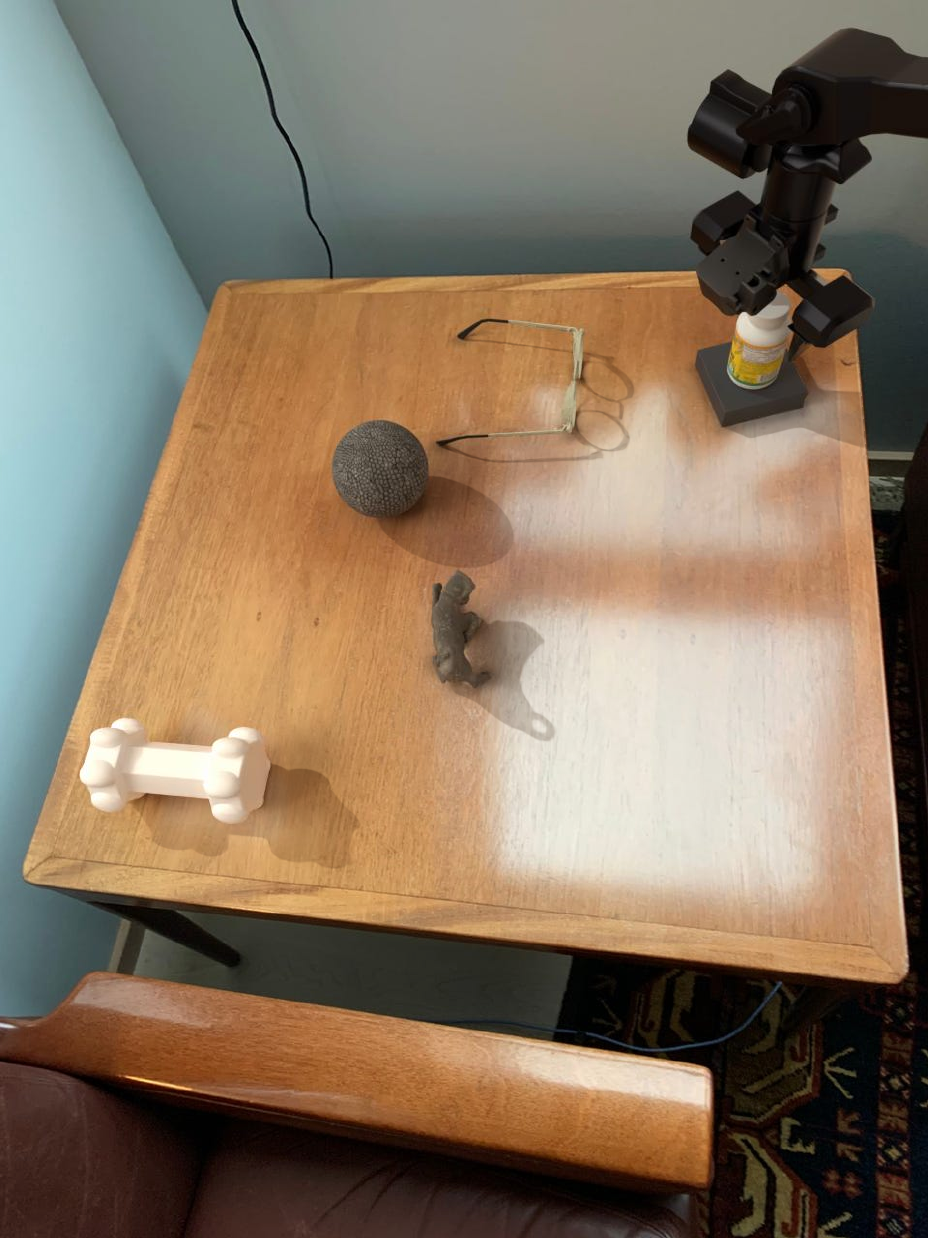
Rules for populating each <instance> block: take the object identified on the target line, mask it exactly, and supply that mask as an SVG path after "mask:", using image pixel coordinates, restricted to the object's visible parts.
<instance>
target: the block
mask: <svg viewBox="0 0 928 1238" xmlns="http://www.w3.org/2000/svg"><path fill="white" fill-rule="evenodd" d="M732 342H733V340H732V341H729V342H724V343H720V344H716V345H712V346H709V347H705V348H700V349H697V350H696V356H695V362H694V367H695V369H696V372H697V374H698V376H699V378H700V381H701V383H702V385H703V389H704V390H705V393H706V395H707V397H708V399H709V402H710V404H711V406H712V408H713V410H714V413H715V415H716V418H717V420H718V422H719V424H720V427H721V428H724V427H728V426H732V425H735V424H741V423H744V422H749V421H753V420H757V419H761V418H764V417H769V416H773V415H778V414H781V413H785V412H790V411H792V410H793V411H794V410H797V409H802V408H804V406H805V403H806V400H807V397H808V394H809V390H808V388H807V387H806V384H805V382H804V380H803V378H802V376H801V374H800V372H799V370H798V369H797V366H796V365H795V362H794V361H792V362H791V363H789V362H788V361H787V355H788V349H787V348H786V349H785V352H784V356H783V359H782V363H781V366H780V369H779V373H778V376H777V378H776V379H775V380H774V382H773V383H771V384H770V385H768V386H767V387H764V388H761V389H746V388H742V387H740V386H738V385H736V384H735V383H734V382H733V381H732V380H731V378H730V376H729V374H728V372H727V365H728V360H729V355H730V351H731V346H732Z"/></svg>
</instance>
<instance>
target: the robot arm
mask: <svg viewBox="0 0 928 1238" xmlns="http://www.w3.org/2000/svg"><path fill="white" fill-rule="evenodd" d="M873 135H874V136H875V135H893V136H894V135H895V136H902V137H909V138H910V137H911V138H916V139H924V140H928V56H920V55H916V54H913V53H909V52H906V51H905V50H904V48H902V47H901V46H900V45H899V44H898V43H897V42H896V41H895V40H894V39H893V38H892V37H889V36H886V35H882V34H878V33H875V32H871V31H867V30H863V29H860V28H856V27H846V28H840V29H839V30H836V31H835V32H833V33H831V34H830V35H829V36H827V37H826V38H825V39H823V40H822V41H821V42H819V43H818V44H816V45H815V46H814V47H812V48H811V49H810V50H808V51H807V52H805V53H804V54H803V55H801V56H800V57H799V58H798V59H796V60H795V61H793V62H792V63H790V64H789V65H787V67H785V68H784V69H782V70H781V71H780V73H779V74H778V76H776V78H775V81H774V83H773V86H772V89H771V92H768V91H766V90H765V89H762V88H760V87H759V86H758V85H757V86H756V85H755V84H754V83H751V82H749V81H747V80H746V79H744V78H743V77H742V76H741V75H740V74H738V73H737V72H735V71H733V70H731V69H728V68H727V69H726V70H724V71H723V72H721V73H720V74H719V75H717V76H716V77H715V78H713V79H712V80H710V84H709V91H708V93H707V95H706V96H705V98H703V100H702V101H701V103H700V104H699V107H698V108H697V110H696V112H695V114H694V116H693V119H692V121H691V123H690V124H689V125H688V128H687V134H686V142H687V146H688V148H689V149H690V150H691V151H692V152H693V153H695V154H697V155H699V156H701V157H703V158H704V159H706V160H707V161H709V162H711V163H713V164H714V165H716V166H718V167H720V168H722V169H723V170H725V171H726V172H728V173H730V174H732V175H734V176H735V177H737V178H739V179H740V180H744V179H748V178H750V177H752V176H754V175H755V174H756V173H763V172H765V171H766V174H765V179H764V183H763V188H762V191H761V192H762V193H761V196H760V201H759V203H756V202H755V201H753V200H752V199H751V198H749V196H747V195H746V194H744V193H743V192H742V191H740V190H739V189H737V190H734V191H732V192H731V193H729V194H727V195H724V196H723V197H721V198H720V199H718V200H716V201H714V202H713V203H711V204H709V205H707V206H706V207H704V208H702V209H700V210H698V212H697V213H696V214H695V216H694V217H693V219H692V222H691V223H692V224H691V232H690V238H689V239H690V240H691V241H692V242H694V244H696V245H697V248H698V251H699V252H700V253H702V255H704V256H705V258H704V259H702V260H701V261H700V262H699V263H698V265H697V266H696V268H695V275H696V278H697V281H698V285H699V288H700V292H701V295H702V296H703V297H704V298H705V299H707V300H708V301H709V302H711V303H712V304H713V305H714V306H715V307H716V308H717V309H718V310H719V311H720V312H721V313H722V314H723V315H725V316H727V317H734V316H740V314H741V313H743V312H746V313H748V314H749V315H750V316H755V315H757V314H758V313H759V312H760V311H762V310H763V309H764V308H765V307H766V306H767V305H769V304H770V303H771V302H772V301H773V300H774V299H775V297H776V295H777V290H779V289H781V288H782V287H784V286H787V287H788V288H789V289H791V291H793V292H794V293H795V294H797V295H798V296H799V297H800V298H802V300H801V301H800V302H799V304H798V305H797V306H796V307H795V308H794V310H793V313H792V316H791V322H792V323H791V324H790V325H788V326H787V327H788V328H789V329H790V330H791V333H793V335H792V337H791V340H790V344H789V347H788V349H787V351H788V355H787V361H788V362H789V363H791V362H792V361H793V362H794V361H796V360H797V359H798V358H799V357H801V355H803V354H804V353H805V352H806V351H807V350H808V349H809V348H810V347H811V346H813V347H814V348H818V349H819V348H820V349H826V348H827V347H829V346H830V345H832V344H834V343H835V342H838V341H839V340H840V339H842V338H844V337H846V336H847V335H849V334H850V333H852V332H854V331H855V330H857V329H859V328H861V327H862V326H864V325H865V324H866V323H868V322H870V319H871V316H872V314H873V312H874V310H875V304H876V298H875V297H873V296H871V294H870V293H868V292H867V291H866V290H865V289H864V288H861V286H859V285H858V284H856V283H855V282H854V281H853V280H852V279H850V278H849V277H848V276H846V275H844V274H842V275H840V276H838V277H837V278H835V279H834V280H832V281H830V282H829V281H828V280H827V279H826V278H824V277H823V276H822V275H820V274H819V273H818V272H817V271H816V270H814V269H813V268H812V266H813V264H814V263H816V262H818V261H820V260H821V259H823V258H824V257H825V253H826V251H827V247H826V246H825V245H824V244H822V243H820V240H821V236H822V233H823V230H824V227H825V226H826V225H828V224H829V223H832V222H833V221H836V219H837V216H838V213H839V210H840V209H839V207H836V206H835V205H834V204H833V203H832V200H833V197H834V194H835V191H836V187H837V184H838V185H844V184H845V183H846V182H848V181H849V180H850V179H852V178H853V177H854V176H856V175H857V174H859V172H860V171H862V170H863V169H865V167H867V166H868V165H869V164H871V163H872V161H873V156H872V154H871V152H870V151H869V148H868V147H867V146H866V145H865V144H864V143H862V141H861V139H862V138H864V137H867V136H873ZM860 138H861V139H860Z"/></svg>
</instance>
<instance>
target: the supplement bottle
mask: <svg viewBox="0 0 928 1238" xmlns="http://www.w3.org/2000/svg"><path fill="white" fill-rule="evenodd" d="M791 307H792V303H791V300H790V297H789V296H788V295H787V294H786V293H784V292H783V291H782V290H779V289H777V295H776V297H775V299H774V300H773V301H772V302H771V303H770V304H769V305H767V306H766V307H765V308H764V309H763V310H762V311H760V312H759V313H758V314H757V315H755V316H750V315H749V314H748V313H746V312H743V313H741V314H740V315H738V318H737V320H736V324H735V328H734V333H733V337H732V341H733V342H732V341H731V342H732V346H731V351H730V355H729V360H728V365H727V372H728V374H729V376H730V378H731V380H732V381H733V382H734V383H735V384H736V385H738V386H740V387H742V388H746V389H761V388H764V387H767V386H768V385H770V384H771V383H773V382H774V380H775V379H776V378H777V376H778V373H779V369H780V366H781V363H782V359H783V356H784V352H785V349H787V345H788V342H789V339H790V336H791V333H792V331H791V330H790V329H789V328H788V327H787V326H788V325H790V324H791V323H793V321H792V318H791V316H790V311H791Z"/></svg>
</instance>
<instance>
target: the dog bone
mask: <svg viewBox="0 0 928 1238" xmlns="http://www.w3.org/2000/svg"><path fill="white" fill-rule="evenodd" d="M89 740H90V741H89V742H90V744H89V747H88V750H87V754H86V757H85V760H84V763H83V766H82V767H81V769H80V771H79V778H80V781H81V782H82V783H83V784H84V785H85V786H86V788H87V790H88V792H89V794H90V802H91V804H92V805H93V807H94V808H96V809H98V810H100V811H102V812H106V813H117V812H120V811H122V810H124V809H125V808H126V807H127V805H128V802H131V801H134V800H138V799H141V798H143V797H144V796H145V794H152V795H163V796H176V797H184V798H196V799H207V800H209V801H208V802H209V804H210V805H209V806H210V808H211V813H212V815H213V817H214V818H215V819H216V820H217V821H219V822H221V823H224V824H228V825H236V824H241V823H243V822H245V821H246V820H247V819H248V817H249V816H250V815H249V814H250V812H252V811H254V810H257V809H260V807H261V806H262V805H263V804H264V801H265V800H264V796H265V791H266V787H267V783H268V782H267V781H268V777H269V772H270V771H271V760H270V758H269V757H268V755H267V751H266V748H265V747H266V746H265V738H264V735H263V733H261V732H260V731H259V730H258V729H255V728H253V727H249V726H239V727H236V728H234V729H232V730H231V731H230V732H229V734H228V736H225V737H221V738H219V739H217V740H215V741H214V742H213V744H212V746H211V745H201V744H199V745H198V744H187V743H178V742H177V743H176V742H163V741H151V740H150V739H149V735H148V732H147V728H146V726H145V724H144V723H143V722H142V721H140V720H139V719H136V718H133V717H122V718H118V719H116V720H115V721H113V723H112V724H111V726H109V727H101V728H97V729H95V730H94V731H92V732H91V734H90V736H89Z"/></svg>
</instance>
